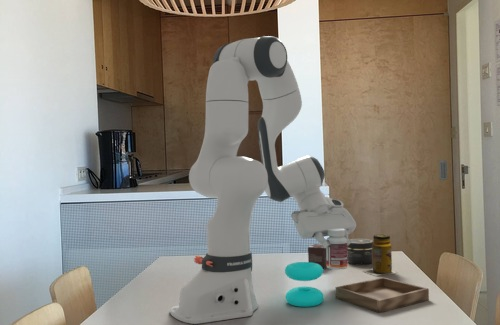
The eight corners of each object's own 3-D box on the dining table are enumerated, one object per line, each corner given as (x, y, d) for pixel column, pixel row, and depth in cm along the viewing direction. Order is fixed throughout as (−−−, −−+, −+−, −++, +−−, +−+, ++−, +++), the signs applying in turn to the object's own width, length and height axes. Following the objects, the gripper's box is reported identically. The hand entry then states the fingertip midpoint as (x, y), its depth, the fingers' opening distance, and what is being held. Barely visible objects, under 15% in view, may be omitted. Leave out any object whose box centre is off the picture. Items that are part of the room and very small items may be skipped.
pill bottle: (352, 268, 153) (351, 229, 153) (336, 271, 150) (336, 231, 150) (337, 264, 158) (337, 227, 158) (321, 267, 155) (321, 228, 155)
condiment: (397, 273, 169) (396, 235, 168) (376, 276, 165) (375, 238, 165) (383, 268, 175) (382, 232, 175) (362, 271, 172) (361, 235, 172)
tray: (379, 312, 128) (379, 300, 128) (335, 298, 142) (335, 287, 142) (428, 300, 138) (428, 288, 138) (383, 287, 152) (383, 277, 151)
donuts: (301, 271, 132) (277, 264, 140) (302, 310, 132) (278, 301, 140) (330, 265, 137) (306, 259, 146) (331, 303, 138) (307, 295, 146)
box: (331, 266, 181) (331, 245, 181) (324, 269, 176) (324, 248, 176) (315, 264, 184) (315, 243, 184) (308, 268, 179) (307, 246, 179)
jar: (363, 258, 193) (363, 237, 193) (381, 263, 184) (380, 241, 183) (340, 261, 189) (340, 240, 189) (357, 266, 180) (356, 244, 179)
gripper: (293, 204, 154) (315, 242, 146) (345, 200, 165) (368, 235, 157) (284, 218, 158) (305, 255, 150) (336, 213, 169) (358, 248, 161)
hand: (338, 245), depth 153 cm, fingers closed on pill bottle, 6 cm apart
